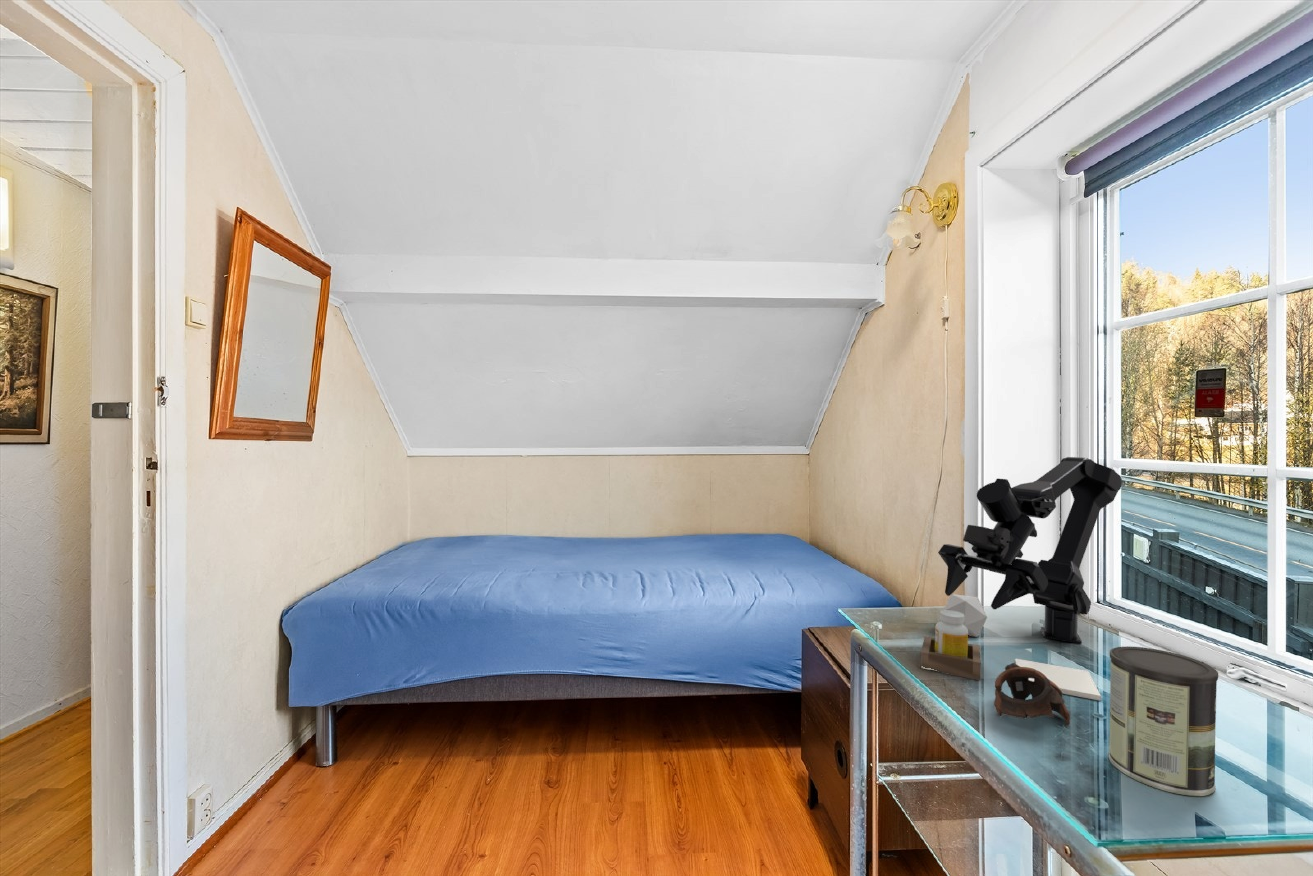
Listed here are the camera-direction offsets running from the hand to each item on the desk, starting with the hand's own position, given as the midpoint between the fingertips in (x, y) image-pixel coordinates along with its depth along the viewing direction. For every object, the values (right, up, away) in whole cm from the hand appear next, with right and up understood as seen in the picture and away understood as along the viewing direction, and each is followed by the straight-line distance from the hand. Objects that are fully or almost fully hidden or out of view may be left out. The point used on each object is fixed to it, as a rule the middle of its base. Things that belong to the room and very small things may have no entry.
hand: (968, 600), depth 107 cm
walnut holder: (-4, -11, -2) cm, 12 cm away
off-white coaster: (+11, -12, -8) cm, 17 cm away
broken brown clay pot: (-2, -12, -20) cm, 24 cm away
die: (+7, -12, +16) cm, 21 cm away
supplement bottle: (-4, -11, -2) cm, 12 cm away
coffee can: (+5, -12, -34) cm, 37 cm away
